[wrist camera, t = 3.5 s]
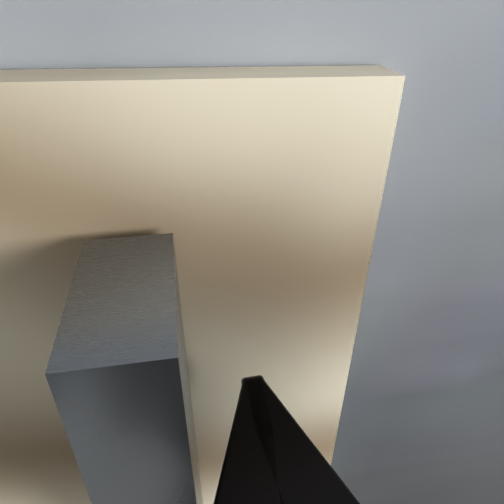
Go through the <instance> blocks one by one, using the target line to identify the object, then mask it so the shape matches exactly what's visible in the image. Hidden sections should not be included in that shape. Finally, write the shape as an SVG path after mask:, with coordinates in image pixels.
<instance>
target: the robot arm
mask: <svg viewBox="0 0 504 504" xmlns="http://www.w3.org/2000/svg"><path fill="white" fill-rule="evenodd" d="M213 504H360V503H359V502H358V501H357V499H356V498H355V497H354V495H353V494H352V493H351V491H350V490H349V489H348V488H347V486H346V485H345V484H344V482H343V481H342V480H341V479H340V477H339V476H338V475H337V473H336V472H335V471H334V469H333V468H332V467H331V466H330V464H329V463H328V462H327V460H326V459H325V458H324V457H323V455H322V454H321V453H320V451H319V450H318V449H317V447H316V446H315V445H314V444H313V442H312V441H311V440H310V438H309V437H308V436H307V435H306V433H305V432H304V431H303V429H302V428H301V427H300V425H299V424H298V423H297V422H296V420H295V419H294V418H293V416H292V415H291V414H290V412H289V411H288V410H287V409H286V407H285V406H284V405H283V403H282V402H281V401H280V400H279V398H278V397H277V396H276V394H275V393H274V392H273V390H272V389H271V388H270V387H269V385H268V384H267V383H266V381H265V380H264V378H263V376H261V375H257V376H251V377H244V378H243V379H242V380H241V390H240V394H239V398H238V403H237V407H236V411H235V415H234V419H233V423H232V428H231V432H230V436H229V440H228V444H227V449H226V453H225V457H224V461H223V465H222V470H221V474H220V478H219V482H218V486H217V491H216V495H215V499H214V503H213Z"/></svg>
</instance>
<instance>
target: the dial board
mask: <svg viewBox="0 0 504 504" xmlns="http://www.w3.org/2000/svg"><path fill="white" fill-rule="evenodd" d="M404 81H405V75H403V74H400V73H398V72H395V71H393V70H391V69H388V68H386V67H384V66H381V65H347V66H263V67H178V68H93V69H8V70H0V504H92V503H91V500H90V497H89V495H88V492H87V489H86V486H85V483H84V481H83V478H82V475H81V472H80V470H79V467H78V464H77V461H76V459H75V456H74V453H73V450H72V448H71V445H70V442H69V439H68V437H67V434H66V431H65V428H64V426H63V423H62V420H61V417H60V415H59V412H58V409H57V406H56V404H55V401H54V398H53V395H52V392H51V390H50V387H49V384H48V381H47V379H46V376H45V372H46V369H47V365H48V362H49V358H50V355H51V351H52V348H53V345H54V341H55V338H56V334H57V331H58V327H59V324H60V320H61V317H62V314H63V310H64V307H65V303H66V300H67V296H68V293H69V289H70V286H71V283H72V279H73V276H74V272H75V269H76V265H77V262H78V259H79V255H80V252H81V248H82V245H83V241H84V240H96V239H107V238H119V237H131V236H143V235H155V234H166V233H173V239H174V248H175V257H176V266H177V275H178V284H179V293H180V302H181V311H182V320H183V329H184V338H185V347H186V356H187V365H188V374H189V383H190V392H191V401H192V410H193V418H194V427H195V436H196V445H197V454H198V463H199V472H200V481H201V490H202V499H203V504H213V503H214V499H215V495H216V491H217V486H218V482H219V478H220V474H221V470H222V465H223V461H224V457H225V453H226V449H227V444H228V440H229V436H230V432H231V428H232V423H233V419H234V415H235V411H236V407H237V403H238V398H239V394H240V390H241V380H242V379H243V378H244V377H251V376H257V375H261V376H263V378H264V380H265V381H266V383H267V384H268V385H269V387H270V388H271V389H272V390H273V392H274V393H275V394H276V396H277V397H278V398H279V400H280V401H281V402H282V403H283V405H284V406H285V407H286V409H287V410H288V411H289V412H290V414H291V415H292V416H293V418H294V419H295V420H296V422H297V423H298V424H299V425H300V427H301V428H302V429H303V431H304V432H305V433H306V435H307V436H308V437H309V438H310V440H311V441H312V442H313V444H314V445H315V446H316V447H317V449H318V450H319V451H320V453H321V454H322V455H323V457H324V458H325V459H326V460H327V462H328V463H329V464H330V466H331V461H332V456H333V451H334V445H335V440H336V435H337V430H338V425H339V419H340V414H341V409H342V404H343V399H344V393H345V388H346V383H347V378H348V372H349V367H350V362H351V357H352V352H353V346H354V341H355V336H356V331H357V326H358V320H359V315H360V310H361V305H362V300H363V294H364V289H365V284H366V279H367V274H368V268H369V263H370V258H371V253H372V248H373V242H374V237H375V232H376V227H377V222H378V216H379V211H380V206H381V201H382V196H383V190H384V185H385V180H386V175H387V169H388V164H389V159H390V154H391V149H392V143H393V138H394V133H395V128H396V123H397V117H398V112H399V107H400V102H401V97H402V91H403V86H404Z"/></svg>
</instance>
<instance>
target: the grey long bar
mask: <svg viewBox="0 0 504 504" xmlns="http://www.w3.org/2000/svg"><path fill="white" fill-rule="evenodd" d="M45 376H46V379H47V381H48V384H49V387H50V390H51V392H52V395H53V398H54V401H55V404H56V406H57V409H58V412H59V415H60V417H61V420H62V423H63V426H64V428H65V431H66V434H67V437H68V439H69V442H70V445H71V448H72V450H73V453H74V456H75V459H76V461H77V464H78V467H79V470H80V472H81V475H82V478H83V481H84V483H85V486H86V489H87V492H88V495H89V497H90V500H91V503H92V504H203V499H202V490H201V481H200V472H199V463H198V454H197V445H196V436H195V427H194V418H193V410H192V401H191V392H190V383H189V374H188V365H187V356H186V347H185V338H184V329H183V320H182V311H181V302H180V293H179V284H178V275H177V266H176V257H175V248H174V239H173V233H166V234H155V235H143V236H131V237H119V238H107V239H96V240H84V241H83V245H82V248H81V252H80V255H79V259H78V262H77V265H76V269H75V272H74V276H73V279H72V283H71V286H70V289H69V293H68V296H67V300H66V303H65V307H64V310H63V314H62V317H61V320H60V324H59V327H58V331H57V334H56V338H55V341H54V345H53V348H52V351H51V355H50V358H49V362H48V365H47V369H46V372H45Z"/></svg>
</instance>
